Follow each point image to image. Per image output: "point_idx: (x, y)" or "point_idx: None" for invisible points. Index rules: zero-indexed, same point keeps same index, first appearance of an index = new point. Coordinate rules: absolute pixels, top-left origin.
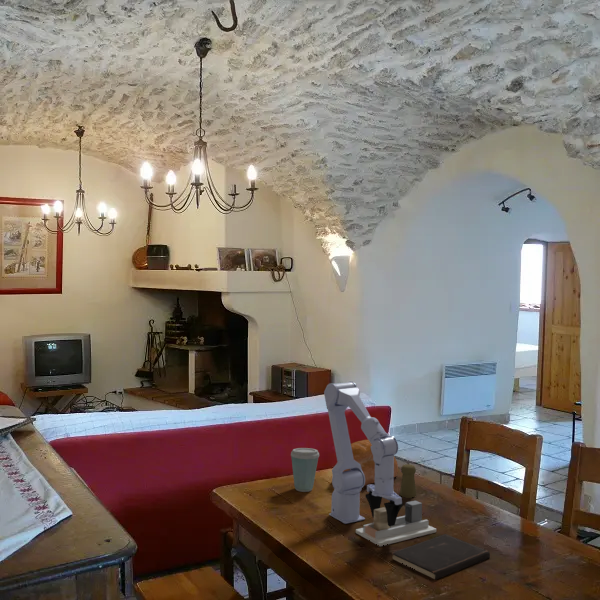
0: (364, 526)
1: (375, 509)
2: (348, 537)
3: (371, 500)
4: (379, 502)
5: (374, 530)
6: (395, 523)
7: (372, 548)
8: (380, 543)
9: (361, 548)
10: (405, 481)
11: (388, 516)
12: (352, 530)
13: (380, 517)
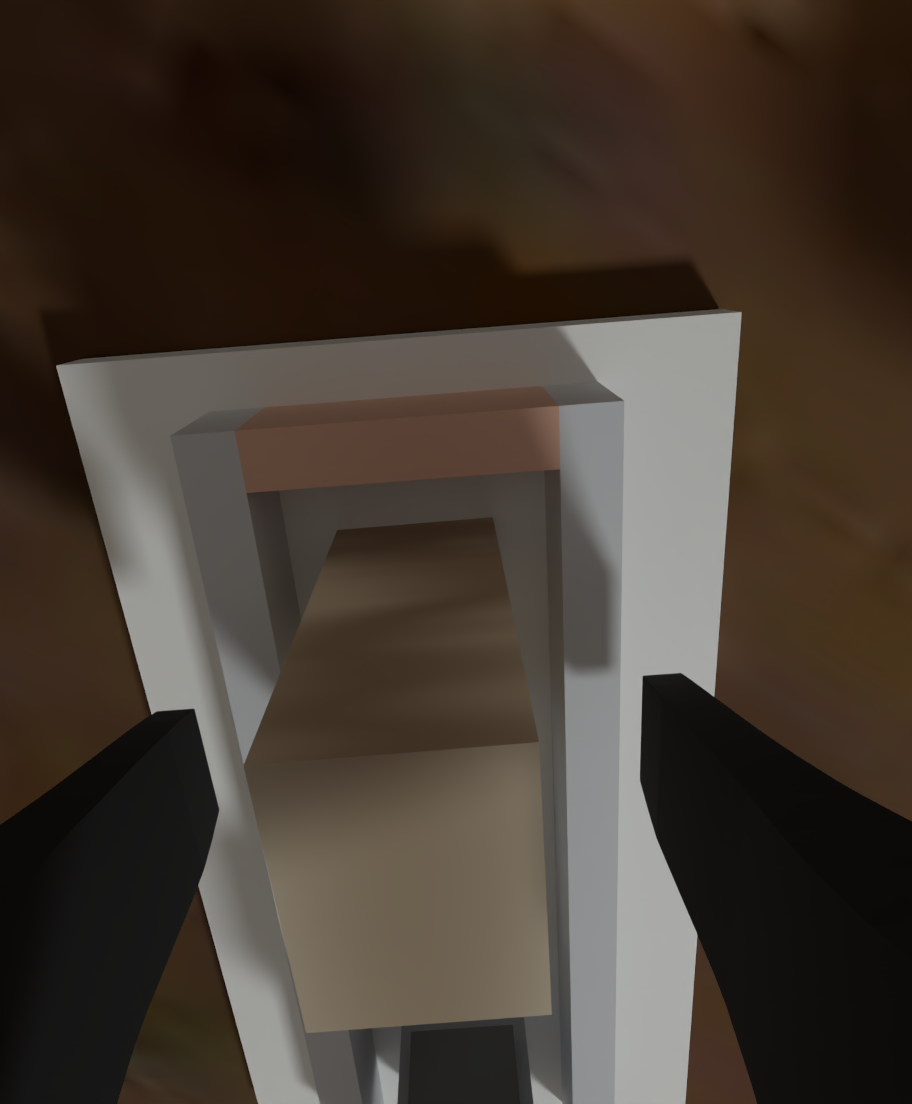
0: (578, 400)
1: (514, 779)
2: (621, 64)
3: (853, 956)
4: (762, 1066)
5: (291, 447)
6: (559, 902)
7: (46, 203)
8: (63, 377)
9: (95, 4)
10: None
11: (25, 827)
12: (825, 314)
13: (278, 697)
